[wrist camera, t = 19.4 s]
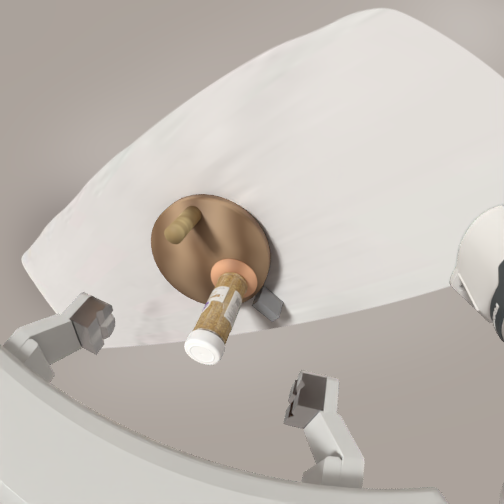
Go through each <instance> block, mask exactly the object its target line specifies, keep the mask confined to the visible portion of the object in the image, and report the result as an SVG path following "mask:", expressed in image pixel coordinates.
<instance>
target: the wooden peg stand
mask: <svg viewBox="0 0 504 504" xmlns="http://www.w3.org/2000/svg"><path fill="white" fill-rule="evenodd" d="M151 248H152V253H153V256H154V260H155V262H156V264H157V266H158V268H159V270H160V272H161V273H162V274H163V276H164V277H165V278H166V280H167V281H168V282H169V283H170V284H171V285H172V286H173V287H174V288H175V289H177V290H178V291H179V292H181V293H182V294H184V295H185V296H187V297H189V298H191V299H193V300H195V301H197V302H200V303H203V304H206V303H207V301H208V299H209V297H210V295H211V293H212V291H213V290H214V288H215V286H216V284H217V282H218V278H219V277H220V276H221V275H222V274H224V273H226V272H234V273H237V274H239V275H241V276H242V277H243V278H244V279H245V280H246V282H247V286H248V287H247V292H246V293H245V294H244V297H243V299H242V303H243V302H246V301H247V300H249V299H251V298H252V297H253V296H255V295H256V294H257V293H258V292H259V291H260V289H261V288H262V286H263V284H264V282H265V280H266V277H267V274H268V271H269V267H270V259H271V255H270V248H269V243H268V240H267V238H266V235H265V233H264V232H263V230H262V228H261V227H260V225H259V224H258V222H257V221H256V220H255V219H254V218H253V217H252V216H251V215H250V214H249V213H248V212H247V211H246V210H245V209H243V208H242V207H240V206H239V205H237V204H236V203H234V202H232V201H230V200H227V199H225V198H222V197H218V196H214V195H206V194H198V195H191V196H187V197H184V198H181V199H179V200H177V201H176V202H174V203H173V204H172V205H170V206H169V207H168V208H167V209H166V210H165V211H164V212H163V213H162V214H161V215H160V216H159V217H158V219H157V220H156V222H155V224H154V227H153V230H152V235H151Z"/></svg>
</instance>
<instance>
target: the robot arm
mask: <svg viewBox="0 0 504 504" xmlns="http://www.w3.org/2000/svg"><path fill="white" fill-rule="evenodd" d="M450 284H451V286H452V287H453V289H454V290H455V291H457V292H458V293H459V294H460V295H461V296H462V297H463V298H464V299H465V300H466V301H467V302H468V303H469V304H470V305H472V306H473V307H474V308H475V309H476V310H477V311H478V312H479V313H480V314H481V315H482V316H483V317H484V318H485V319H486V320H487V321H488V322H492V323H493V326H494V328H495V330H496V333H497V334H498V335H499V337H500V339H501V340H502V341H503V342H504V206H498V207H494V208H492V209H489V210H488V211H486V212H484V213H483V214H482V215H480V216H479V217H478V218H477V219H476V220H475V221H474V222H473V223H472V224H471V226H470V227H469V228H468V230H467V232H466V233H465V235H464V237H463V239H462V242H461V245H460V248H459V252H458V260H457V266H456V268H455V270H454V272H453V274H452V276H451V278H450ZM461 284H462V285H461ZM460 285H461V286H460ZM112 311H113V309H112V305H110V304H108V303H106V302H104V301H102V300H99V299H97V298H95V297H93V296H91V295H89V294H87V293H85V292H83V293H80V294H79V295H78V296H77V297H76V298H75V300H74V301H73V302H72V303H71V304H70V305H69V306H68V307H67V308H66V309H65V310H64V311H63V313H62V314H59V313H58V314H56V315H53V316H50V317H47V318H44V319H42V320H39V321H36V322H33V323H31V324H28V325H25V326H23V327H20V328H18V329H17V330H16V331H15V332H14V333H13V334H12V336H11V337H10V338H9V339H8V340H7V341H6V342H5V344H4V345H3V346H1V345H0V504H449V503H448V501H447V500H446V498H445V497H444V495H443V494H442V493H441V492H440V490H439V489H437V488H435V487H427V488H409V489H365V488H362V484H363V473H364V461H365V459H364V457H363V455H362V454H361V452H360V450H359V448H358V446H357V444H356V443H355V441H354V439H353V437H352V435H351V433H350V432H349V430H348V428H347V426H346V424H345V422H344V421H343V419H342V417H341V415H339V414H337V406H338V391H339V379H338V378H335V377H330V376H326V375H322V374H318V373H314V372H309V371H305V370H301V372H300V373H299V376H298V379H297V380H295V382H294V384H293V386H292V388H291V391H290V395H289V400H288V401H289V403H290V405H289V407H288V408H287V410H286V414H285V419H284V424H286V425H290V426H294V427H298V428H303V431H304V433H305V436H306V439H307V441H308V444H309V447H310V449H311V452H312V454H313V457H314V460H315V462H316V465H315V466H313V467H312V468H310V469H309V470H307V471H305V472H304V473H303V477H302V482H297V481H291V480H285V479H280V478H275V477H269V476H265V475H260V474H256V473H252V472H248V471H244V470H240V469H237V468H233V467H229V466H226V465H222V464H219V463H216V462H213V461H209V460H206V459H203V458H200V457H197V456H194V455H192V454H188V453H186V452H183V451H181V450H177V449H175V448H173V447H170V446H168V445H165V444H163V443H160V442H158V441H156V440H153V439H151V438H149V437H146V436H144V435H142V434H139V433H138V432H135V431H133V430H131V429H129V428H127V427H125V426H123V425H121V424H119V423H117V422H115V421H113V420H111V419H109V418H107V417H105V416H104V415H102V414H100V413H98V412H96V411H94V410H93V409H91V408H89V407H88V406H86V405H84V404H82V403H81V402H79V401H77V400H75V399H74V398H73V397H71V396H69V395H68V394H66V393H65V392H63V391H62V390H60V389H58V388H57V387H55V386H54V385H53V384H51V383H50V382H51V380H52V379H53V377H54V372H53V370H52V368H51V367H50V365H51V364H53V363H55V362H57V361H59V360H61V359H62V358H64V357H66V356H68V355H70V354H72V353H74V352H75V351H77V350H79V349H81V347H82V348H84V349H86V350H88V351H90V352H92V353H94V354H96V355H97V353H98V352H99V350H100V349H101V348H102V346H103V345H104V339H106V338H108V337H110V335H111V334H112V332H113V330H114V327H115V318H114V316H113V315H112V314H111V313H112ZM499 504H504V484H503V486H502V490H501V493H500V500H499Z"/></svg>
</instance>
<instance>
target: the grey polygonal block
mask: <svg viewBox="0 0 504 504" xmlns="http://www.w3.org/2000/svg"><path fill="white" fill-rule="evenodd" d="M282 304H283V301H281V300H280V299H279V298H278V297H277V296H275V295H274V294H273V293H272V292H271V291H269V290H268V289H267V288H266V287H265V286H263V287H262V288H261V289H260V291H259V292H258V293H257V294H256V296H255V299H254V302H253V304H252V306H253V307H254V308H255V309H257V310H258V311H259V312H260V313H262V314H263V315H264V316H265V317H267V318H268V319H269V320H270V321H272V322H273V321H274V320H276V319H278V318H279V317H280V313H281V309H282Z"/></svg>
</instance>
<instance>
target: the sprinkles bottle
mask: <svg viewBox="0 0 504 504" xmlns="http://www.w3.org/2000/svg"><path fill="white" fill-rule="evenodd" d="M247 287H248V286H247V282H246V280H245V279H244V278H243V277H242V276H241V275H239V274H237V273H234V272H226V273H224V274H222V275H221V276H220V277H219V278H218V282H217V284H216V286H215V288H214V290H213V291H212V293H211V295H210V297H209V299H208V301H207V303H206V305H205V307H204V309H203V311H202V313H201V316H200V318H199V320H198V322H197V324H196V326H195V328H194V330H193V331H192V332H191V333H190V334H189V336H188V338H187V340H186V342H185V345H184V348H185V351H186V353H187V354H188V355H189V356H190V357H191V358H192V359H194V360H195V361H197V362H199V363H202V364H207V365H212V364H216V363H218V362H219V361H220V360H221V357H222V356H223V353H224V351H225V343H226V341H227V338H228V336H229V333H230V332H231V330H232V327H233V325H234V322H235V319H236V317H237V314H238V312H239V309H240V306H241V304H242V299H243V297H244V294H245V293H246V292H247Z"/></svg>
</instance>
